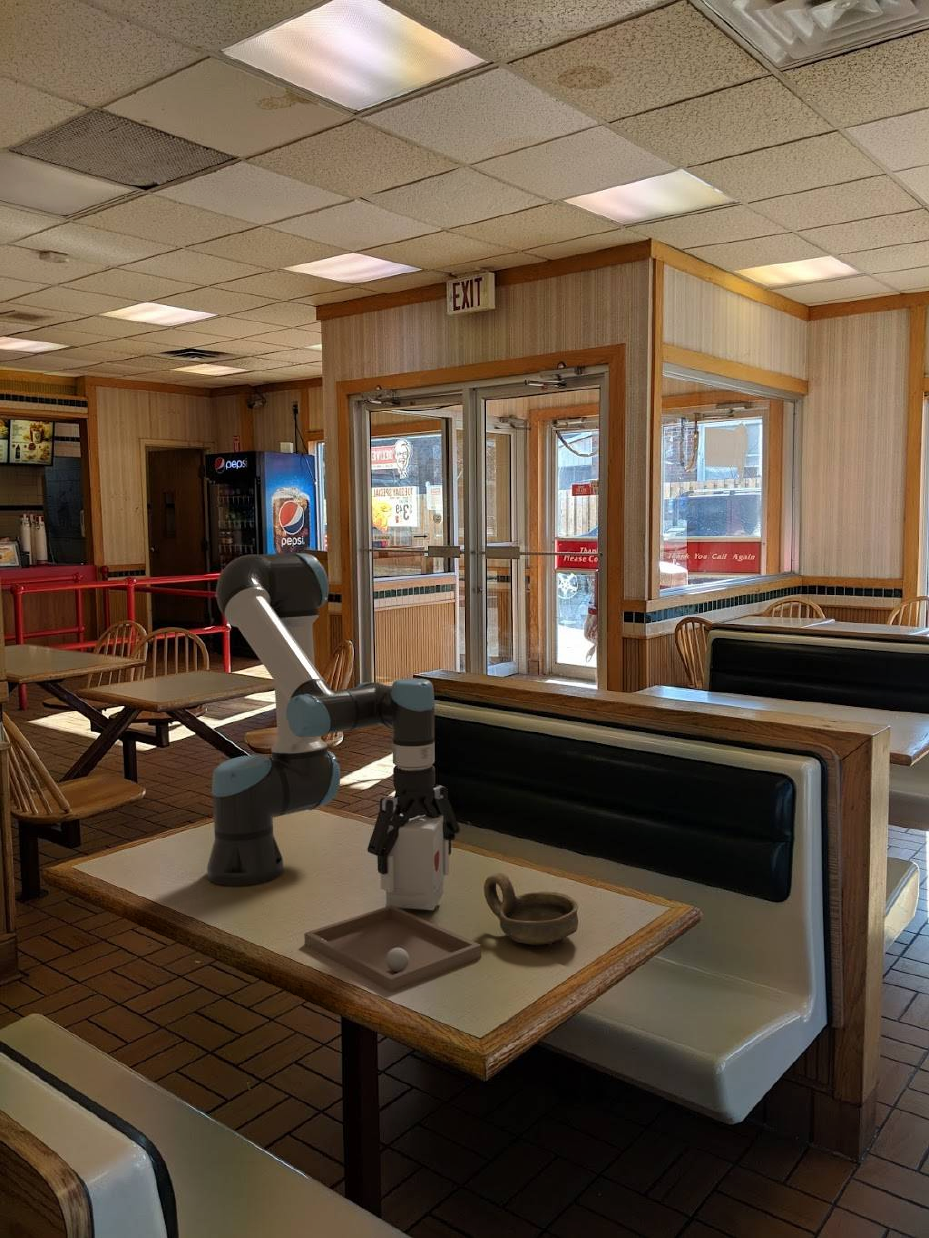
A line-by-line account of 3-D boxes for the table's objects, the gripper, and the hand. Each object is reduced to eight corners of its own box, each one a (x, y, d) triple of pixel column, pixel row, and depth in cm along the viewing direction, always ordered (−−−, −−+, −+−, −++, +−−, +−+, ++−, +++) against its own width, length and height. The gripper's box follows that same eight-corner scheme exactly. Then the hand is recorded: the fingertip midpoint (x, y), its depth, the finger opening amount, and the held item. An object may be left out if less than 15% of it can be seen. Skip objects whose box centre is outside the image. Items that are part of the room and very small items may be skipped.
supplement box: (434, 911, 179) (433, 829, 177) (385, 907, 181) (383, 826, 179) (445, 892, 188) (444, 814, 186) (398, 889, 189) (397, 811, 188)
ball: (381, 970, 157) (380, 948, 157) (400, 963, 160) (399, 941, 159) (395, 978, 154) (394, 955, 154) (414, 971, 157) (413, 948, 156)
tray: (304, 947, 168) (304, 933, 168) (391, 918, 180) (391, 905, 180) (391, 995, 150) (391, 979, 150) (481, 959, 162) (481, 944, 162)
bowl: (553, 964, 160) (552, 903, 159) (464, 939, 170) (463, 882, 169) (596, 935, 171) (595, 878, 170) (510, 913, 181) (509, 859, 180)
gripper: (371, 781, 171) (373, 904, 173) (478, 757, 187) (479, 870, 189) (345, 773, 176) (348, 892, 179) (452, 751, 192) (453, 860, 194)
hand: (415, 881), depth 184 cm, fingers closed on supplement box, 12 cm apart
